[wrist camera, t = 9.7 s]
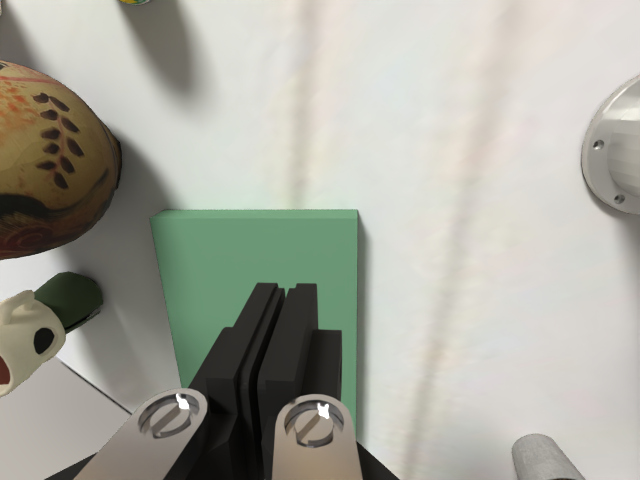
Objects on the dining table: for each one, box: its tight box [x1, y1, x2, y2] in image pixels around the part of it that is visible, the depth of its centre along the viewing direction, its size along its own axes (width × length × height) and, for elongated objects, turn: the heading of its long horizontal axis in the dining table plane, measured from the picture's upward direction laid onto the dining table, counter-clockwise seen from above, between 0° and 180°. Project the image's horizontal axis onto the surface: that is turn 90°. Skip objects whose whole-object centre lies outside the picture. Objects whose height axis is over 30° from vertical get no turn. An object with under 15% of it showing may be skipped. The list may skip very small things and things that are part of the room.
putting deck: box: [150, 210, 358, 439], centre depth 42 cm, size 30×20×3 cm, turn 1°
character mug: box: [0, 272, 103, 397], centre depth 38 cm, size 11×7×13 cm, turn 154°
